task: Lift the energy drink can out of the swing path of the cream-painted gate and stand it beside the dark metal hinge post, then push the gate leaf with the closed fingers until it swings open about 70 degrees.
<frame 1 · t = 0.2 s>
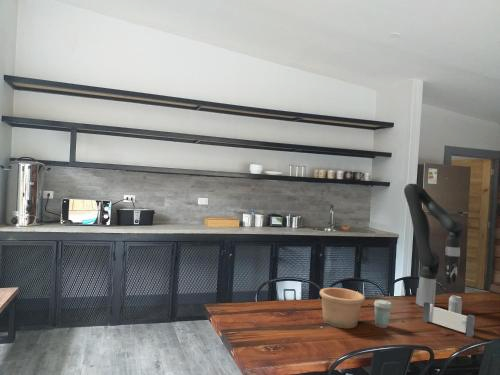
hand: (451, 282, 219), 17 cm above the table, tool pointing down, fingers open, 8 cm apart
gate frame: (446, 328, 192), on the table
gate leaf: (447, 317, 192), point 6 cm above the table, hinge at 0.0°
coffee cup: (381, 326, 189), on the table
energy drink can: (453, 325, 198), on the table
pottery: (339, 322, 189), on the table
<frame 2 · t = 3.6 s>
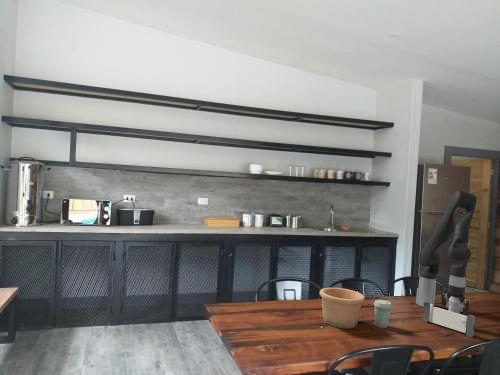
hand: (454, 316, 198), 5 cm above the table, tool pointing down, fingers closed on energy drink can, 6 cm apart
energy drink can: (453, 325, 198), on the table, touching gripper
everything else where it was.
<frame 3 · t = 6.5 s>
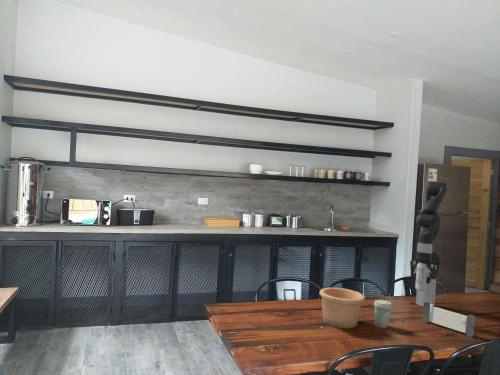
hand: (421, 281, 207), 19 cm above the table, tool pointing down, fingers closed on energy drink can, 6 cm apart
energy drink can: (421, 290, 207), point 15 cm above the table, touching gripper
everything else where it was.
when the fingers open (6 cm above the table, at t = 9.5 s): energy drink can drops 1 cm, on the table.
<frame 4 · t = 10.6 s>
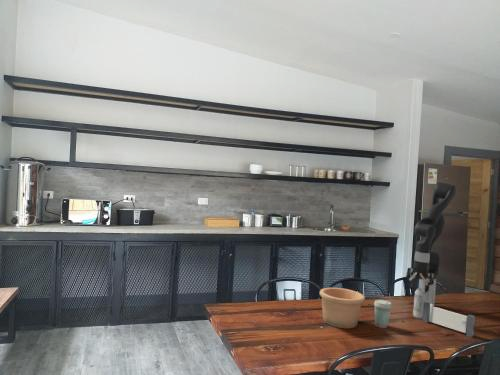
hand: (418, 289, 207), 15 cm above the table, tool pointing down, fingers open, 8 cm apart
energy drink can: (418, 317, 207), on the table
everything else where it was.
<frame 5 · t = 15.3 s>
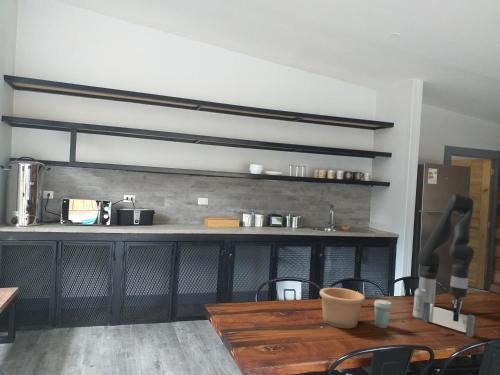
hand: (455, 320, 187), 6 cm above the table, tool pointing down, fingers closed
gate leaf: (447, 317, 192), point 6 cm above the table, hinge at 2.6°, touching gripper
everything else where it was.
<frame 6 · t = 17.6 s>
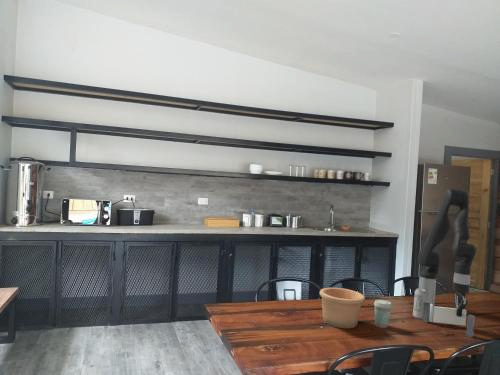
hand: (458, 316, 194), 6 cm above the table, tool pointing down, fingers closed
gate leaf: (447, 314, 197), point 6 cm above the table, hinge at 42.9°, touching gripper
everything else where it was.
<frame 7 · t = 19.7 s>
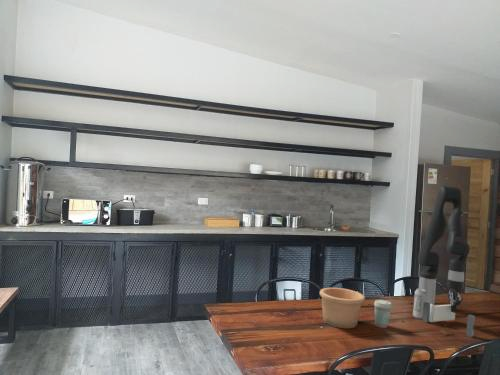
hand: (453, 312, 200), 6 cm above the table, tool pointing down, fingers closed
gate leaf: (442, 312, 201), point 6 cm above the table, hinge at 71.8°, touching gripper
everything else where it was.
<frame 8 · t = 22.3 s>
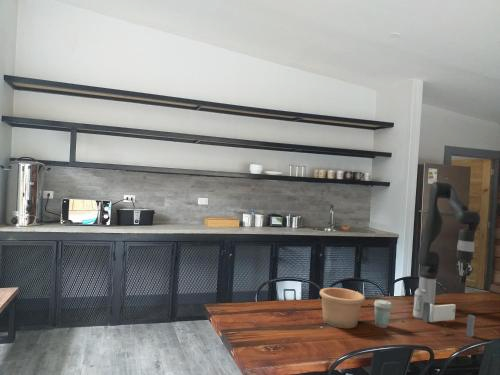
hand: (462, 283, 195), 23 cm above the table, tool pointing down, fingers closed
gate leaf: (442, 311, 201), point 6 cm above the table, hinge at 72.3°
everything else where it was.
at the end: gate leaf at +72° (first picture: +0°); energy drink can inside the target area (0.0 cm from its centre), on the table; energy drink can tilted 0° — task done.
